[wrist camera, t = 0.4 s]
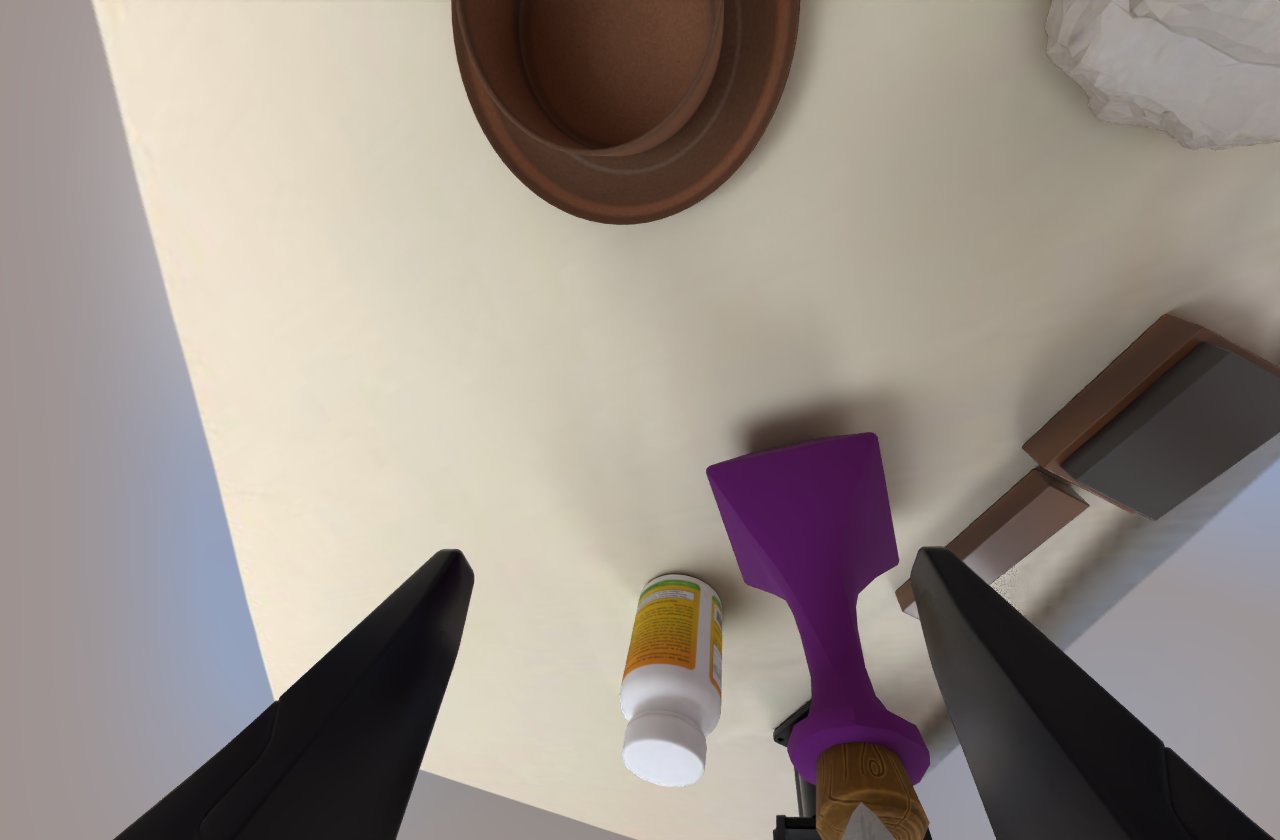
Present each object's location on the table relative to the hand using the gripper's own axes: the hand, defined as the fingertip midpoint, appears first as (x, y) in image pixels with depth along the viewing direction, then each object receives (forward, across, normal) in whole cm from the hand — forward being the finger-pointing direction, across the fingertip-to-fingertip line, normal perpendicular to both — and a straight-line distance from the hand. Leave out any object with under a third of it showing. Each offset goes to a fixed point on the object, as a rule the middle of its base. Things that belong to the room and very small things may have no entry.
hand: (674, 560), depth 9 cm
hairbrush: (+12, -16, +12) cm, 23 cm away
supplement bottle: (+12, +2, +20) cm, 24 cm away
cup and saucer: (+17, +2, -8) cm, 19 cm away
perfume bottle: (+13, -5, +11) cm, 18 cm away
